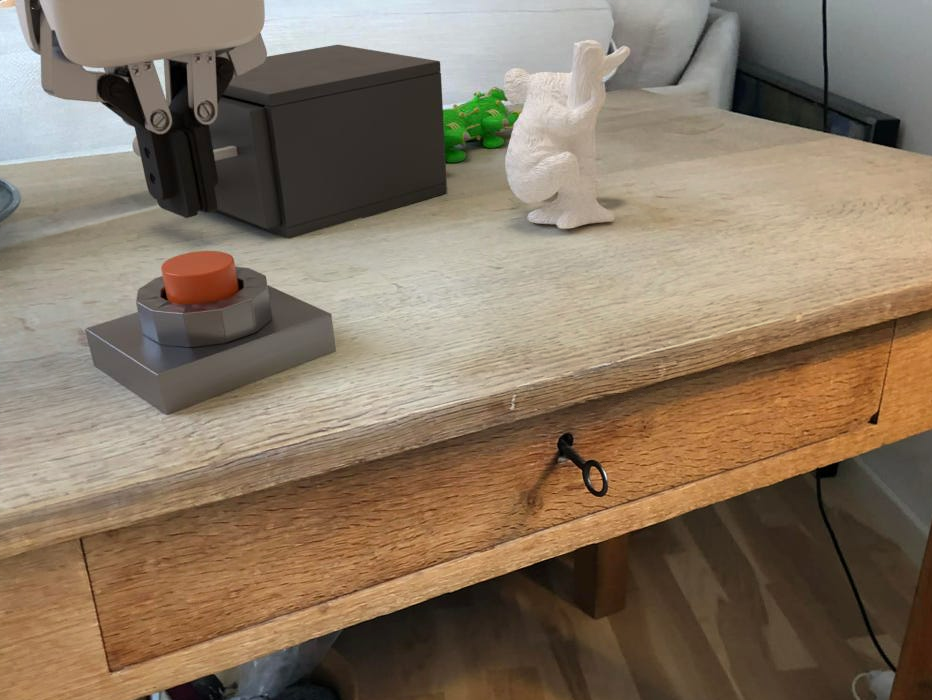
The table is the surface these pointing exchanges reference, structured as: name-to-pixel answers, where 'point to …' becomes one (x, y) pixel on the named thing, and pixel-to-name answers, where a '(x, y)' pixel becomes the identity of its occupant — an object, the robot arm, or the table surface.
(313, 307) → the button block
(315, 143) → the storage box
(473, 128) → the crocodile figurine
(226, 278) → the button
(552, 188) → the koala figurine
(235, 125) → the drawer
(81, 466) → the table surface
